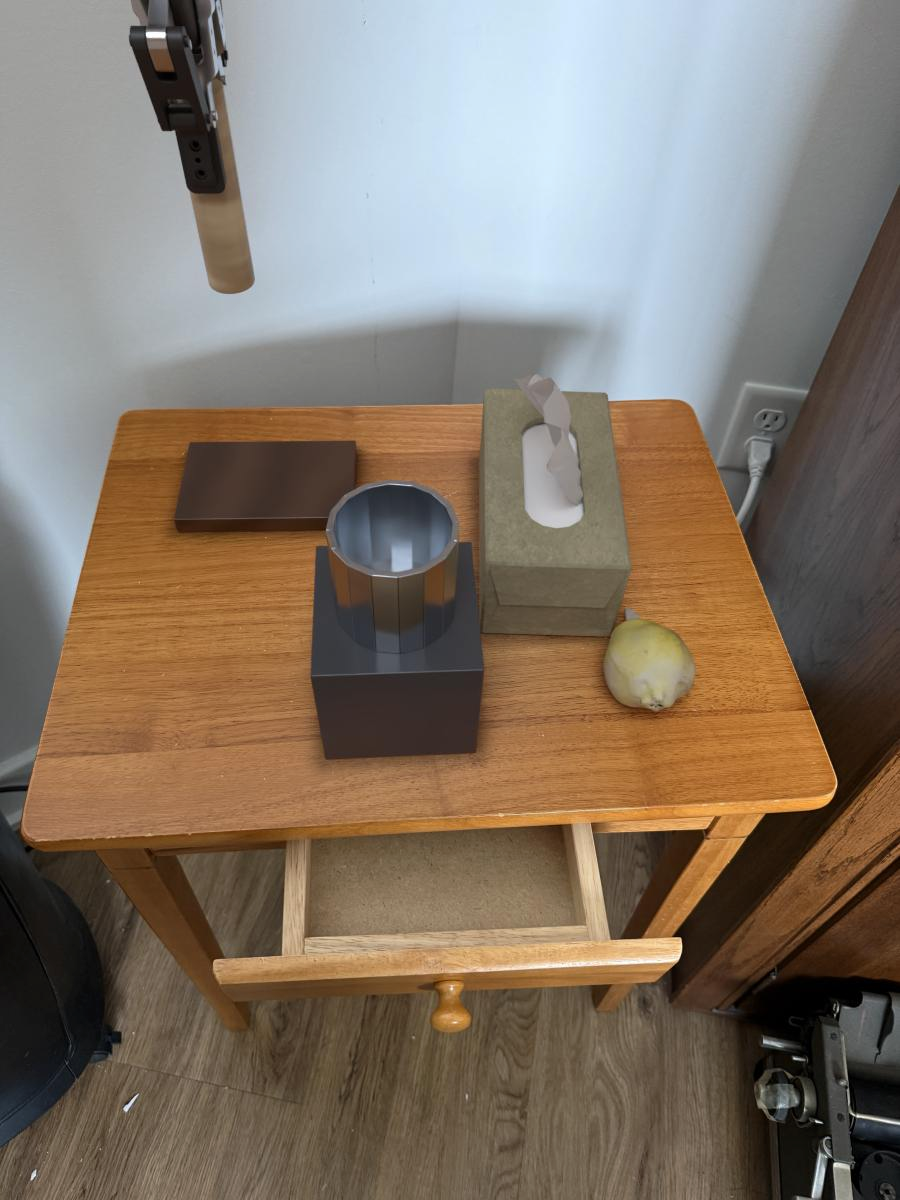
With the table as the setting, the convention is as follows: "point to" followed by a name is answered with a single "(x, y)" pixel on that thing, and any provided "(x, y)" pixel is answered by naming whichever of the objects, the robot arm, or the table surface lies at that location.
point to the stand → (397, 680)
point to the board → (263, 485)
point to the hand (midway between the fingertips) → (211, 174)
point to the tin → (393, 564)
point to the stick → (224, 216)
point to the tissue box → (549, 513)
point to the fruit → (647, 664)
